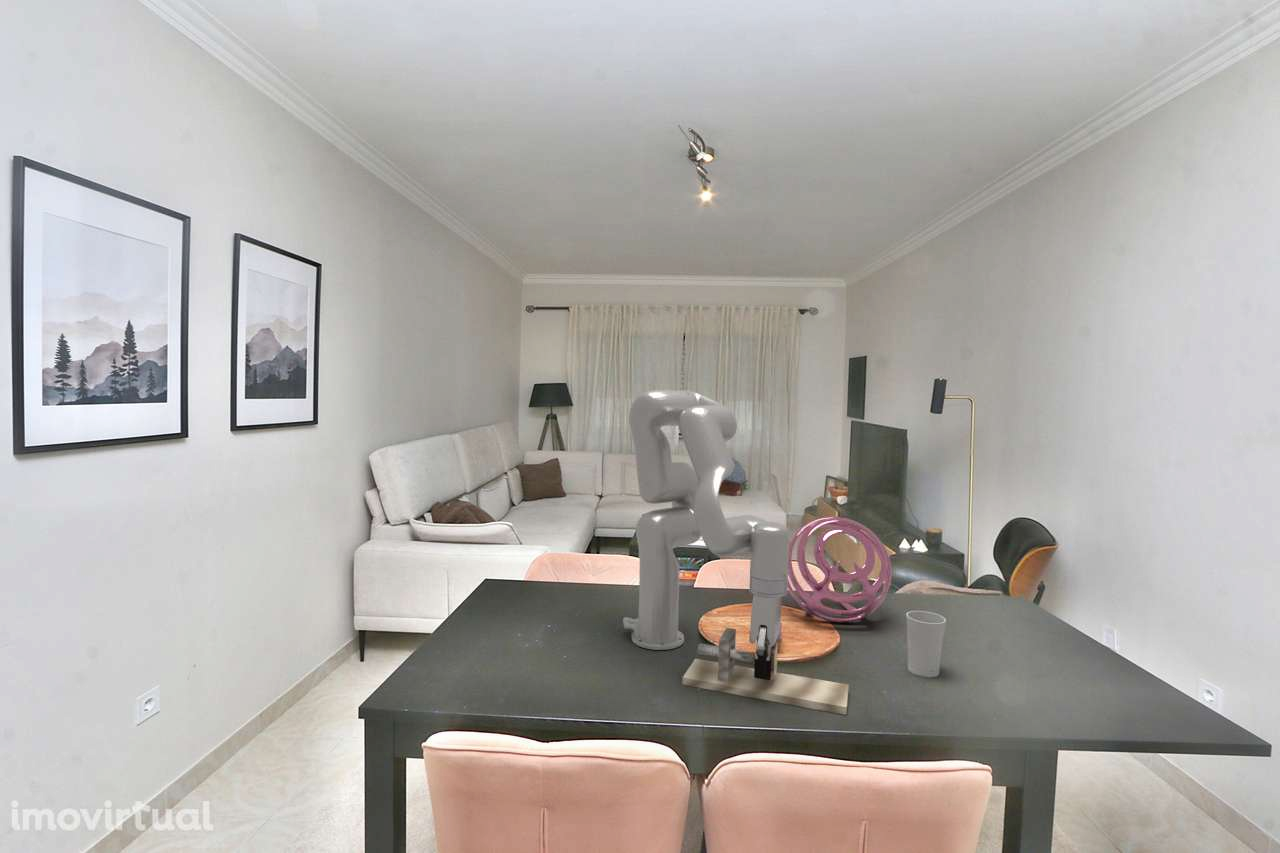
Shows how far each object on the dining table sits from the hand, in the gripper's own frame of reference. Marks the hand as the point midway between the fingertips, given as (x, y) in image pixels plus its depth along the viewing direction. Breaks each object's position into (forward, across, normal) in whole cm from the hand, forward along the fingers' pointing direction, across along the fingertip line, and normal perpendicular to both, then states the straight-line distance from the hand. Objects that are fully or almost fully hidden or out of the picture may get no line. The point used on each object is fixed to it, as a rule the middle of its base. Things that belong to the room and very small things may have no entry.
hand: (765, 670), depth 130 cm
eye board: (+4, 0, 0) cm, 4 cm away
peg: (+1, 0, -6) cm, 6 cm away
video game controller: (+4, -23, -3) cm, 23 cm away
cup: (+4, -22, +31) cm, 38 cm away
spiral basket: (+4, -49, +11) cm, 50 cm away
